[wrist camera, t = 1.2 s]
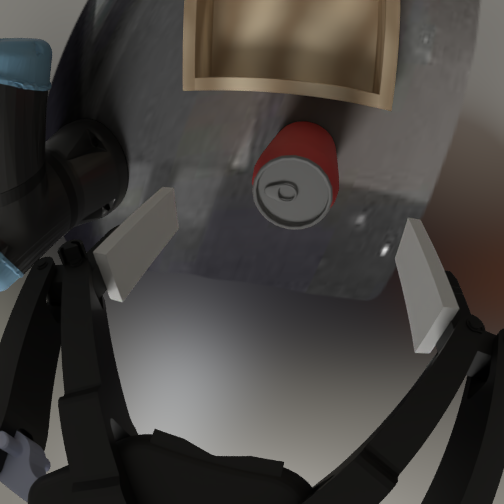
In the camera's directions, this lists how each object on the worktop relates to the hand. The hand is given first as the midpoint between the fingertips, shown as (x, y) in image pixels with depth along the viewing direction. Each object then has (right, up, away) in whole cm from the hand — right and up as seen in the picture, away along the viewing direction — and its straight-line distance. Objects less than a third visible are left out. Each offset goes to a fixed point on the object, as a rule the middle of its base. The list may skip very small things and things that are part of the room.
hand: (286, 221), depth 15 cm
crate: (+2, +22, +4) cm, 23 cm away
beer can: (+4, +9, +13) cm, 17 cm away
